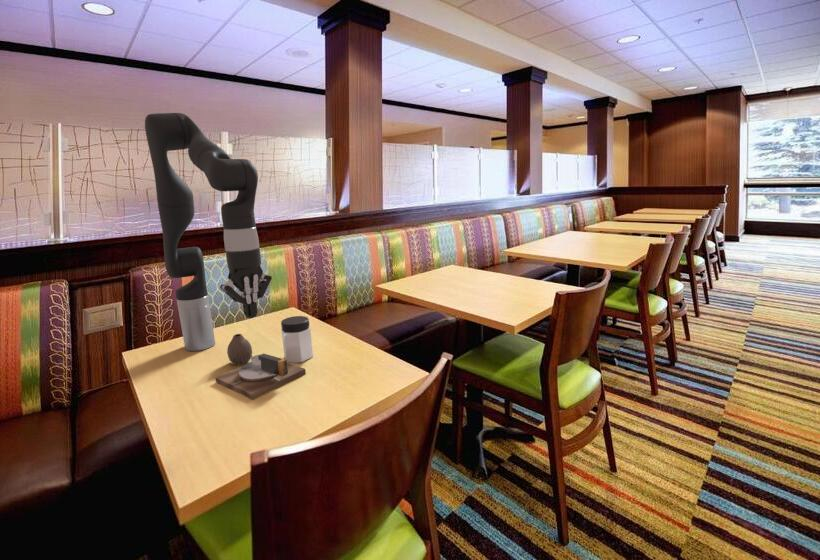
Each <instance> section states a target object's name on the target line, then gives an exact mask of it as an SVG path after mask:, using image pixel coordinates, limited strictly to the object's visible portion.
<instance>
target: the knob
mask: <svg viewBox="0 0 820 560" xmlns="http://www.w3.org/2000/svg"><path fill="white" fill-rule="evenodd" d="M287 363H288V362H287V360H286V359H285V358H282V357H277V356H274V355H271V354H267V353H260V354H256V355H253V356H252V357H251V359H250V361H249V362H247V363H246V364H243V365H241V366H240V367H241V368H240V367H239V368H240V369H239V376H240V379H241V380H243V381H247V382H258V381H264V380H267V379H270V378H273V377H275V376H277V375H279V376H282V377H283V376H285V375H287V374H288V368H287Z"/></svg>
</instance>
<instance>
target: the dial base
mask: <svg viewBox="0 0 820 560" xmlns="http://www.w3.org/2000/svg"><path fill="white" fill-rule="evenodd" d="M241 367H242V366H240V367H237V368H235V369H232V370H229V371H228V372H225V373H223V374H221V375H220V374H219V375H218V376H216V377H215V378H214V379H215V383H216V384H218V385H220V386H222V387H224V388H227V389H229V390H231V391H233V392H234V393H237V394H239V395H241V396H243V397H245V398H248V399H250V400H255V399H257V398H259V397H261V396H264V395H265V394H267V393H270V392H272V391H273V390H274V391H275V390H276V389H277V388H279V387H282V386H284V385H286V384H288V383H289V382H292V381H294V380H295V379H298V378H300V377H303V376H305V375H306V374H307V373H306V368H303V367H301V366H299V365H295V364H292V363H291V362H287V368H288V374H287V375H285V376H283V377H282V376H279V375H277V376H275V377H273V378H270V379H267V380H264V381H258V382H247V381H243V380H241V379H240V376H239V369H240V368H241Z"/></svg>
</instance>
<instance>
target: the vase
mask: <svg viewBox="0 0 820 560" xmlns="http://www.w3.org/2000/svg"><path fill="white" fill-rule="evenodd" d="M252 348H253V347H252V345H251V343H250V341H249V340H248V339H246V337H244V335H243V334H241V333H236V334H234V335H233V336H232V339H231V341H230V342H229V344H228V345H227V351H226V353H227V358H228V359H229V361H230V363H232V364H233V365H235V366H243V365H245V364H247V363H249V362H250V361H251V358H252V357H253V356H252V355H253V349H252Z"/></svg>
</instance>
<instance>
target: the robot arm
mask: <svg viewBox="0 0 820 560" xmlns="http://www.w3.org/2000/svg"><path fill="white" fill-rule="evenodd" d="M144 130H145V137H146V141H147V145H148V150H149V153H150V154H149V155H150V159H151V164H152V168H153V174H154V181H155V182H154V183H155V191H156V199H157V200H156V201H157V209H158V213H159V214H158V215H159V220H160V226H161V232H162V241H163V253H164V254H163V256H164V265H165V267H164V268H165V271H166V273H167V275H168V277H170V278H172V279H181V278H189V277H193V279H192V280H190V281H189V282H188V283H186V284H185V285H182V286H181V287H178V288H177V289H176V291H175V298H176V303H177V309H178V314H179V320H180V321H179V322H180V326H181V332H182V338H183V339H182V340H183V343H184V349H185V351H187V352H198V351H203V350H207V349H210V348H212V347H214V346H215V345H216V338H215V331H214V325H213V319H212V313H211V312H212V311H211V305H210V299H209V293H208V288H207V287H208V285H207V281H206V271H205V261H204V256H203V252H202V250H201V248H200V247H199V246H190V247H183V248H182V247H180V248H178V245H179V242H180V239H181V237H182V236H183V234H184V233H185V231H186V230H187V229H188V228H189V226H190V224H191V223H192V221H193V219H194V216H195V214H196V213H195V201H194V194H193V191H192V189H191V188H190V187H189V185H188V184H187V183H186V181H184V180H183V179H182V177H181V176H180V175H179V174H178V173H177V172H176V171H175V170H174V168H173V167H172V165H171V164H170V161H169V159H168V152H169V151H181V150H182V151H183V150H187V154H188V157H189V159H190V161H191V162H192V164H193V165H194V166H195V167H197V169H199V170H200V171H201V172H203V173H204V175H205V177H206V179H207V181H208V184H209V185H210V187H211V188H212V189H214V190H216V191H219V192H238V193H237V195H236V198H235V199H234V200H230V201H228V202H226V203H223V204H222V205H221V208H220V212H221V220H222V227H223V242H224V244H223V245H224V251H225V257H226V264H227V268H228V275H227V281H226V282H225V283H224V284H223V283H222V284H220V285H219V286H220V287H219V288H220V290H221V291H222V292H224V293H225V294H226V295H227V296H229V298H230V299H231V300H232V301H233V302H236V303H239V304H242V309H243V315H244V316H245V317H246V318H247V319H254V318H256V317H257V315H258V303H257V302H258V300H259V299H262V298H263V297H264V295H265V293H266V292H267V290H268V287H269V286H270V283H271V281H272V277H273V276H272V275H269V274H266V273H264V271H263V268H262V266H261V265H262V259H261V257H262V256H261V251H260V248H261V247H260V240H259V239H260V238H259V235H258V231H257V227H256V217H255V203H256V194H257V189H258V181H259V174H258V170H257V168H256V166H255V164H254V163H253V162H252V161H251V160H249V159H246V158H232V157H231V156H230V155H229V154H228V152H227V151H225V150H224V149H223V148H221V147H220V146H218V145H217V144H216V143H214V142H213V141H211V140H210V138H208V137H207V135H206V134H205V133H204V131H202V129H201V128H199V126H198V125H197V124H196V122H195V121H194V120H193V119H192V118H191V117H190V116H188V115H187V114H185V113H181V112H165V113H164V112H162V113H161V112H159V113H148V114H147V115H146V116H145V119H144ZM235 288H236V289H237V291H236V289H235Z"/></svg>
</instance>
